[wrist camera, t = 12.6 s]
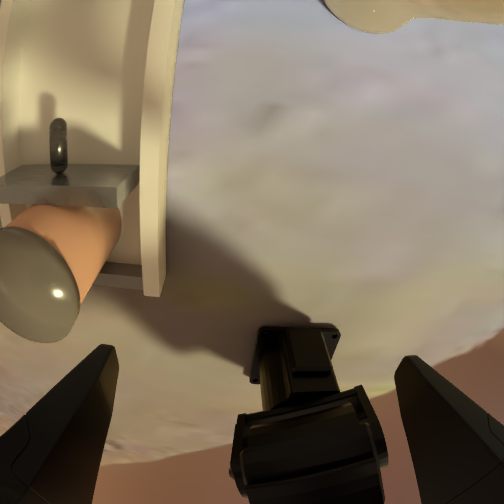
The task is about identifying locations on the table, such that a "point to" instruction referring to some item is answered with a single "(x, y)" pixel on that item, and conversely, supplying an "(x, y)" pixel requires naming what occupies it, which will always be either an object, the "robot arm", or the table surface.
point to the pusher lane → (96, 108)
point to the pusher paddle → (68, 179)
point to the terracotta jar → (52, 266)
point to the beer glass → (413, 12)
